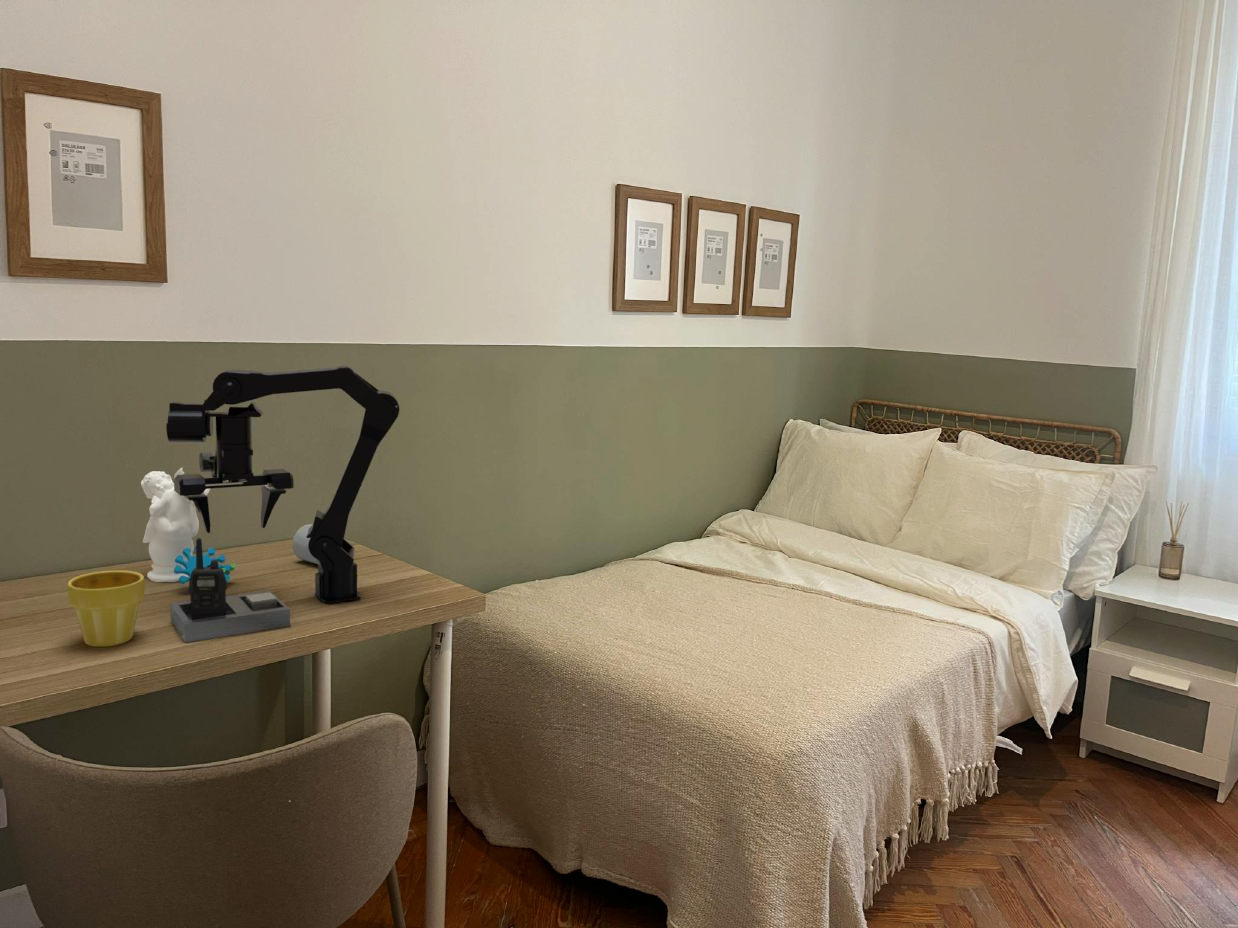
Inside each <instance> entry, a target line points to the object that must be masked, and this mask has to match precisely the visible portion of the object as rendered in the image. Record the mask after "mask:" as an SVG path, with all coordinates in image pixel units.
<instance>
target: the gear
mask: <svg viewBox="0 0 1238 928" xmlns="http://www.w3.org/2000/svg"><path fill="white" fill-rule="evenodd" d="M203 549H204V547H203V546H202V551H203ZM194 552H195V555H194V556H193V555H192V556H191V555H190V553H191V549H190V548H186V549H184V550H183V552H182V553H183V555H185V556H186V557H187V560H188V562H185V561H184V559H183V556H181V555H179V556H177V557H176V559H175V562H176V563H179V564H181V565H183V566H184V567H185V568H186V569H183V568H182V567H181V566H179V565H176V567H175V568H174V573H176V574H178V573H183V574H186V575H188V576H189V577H186V576H180V578H179V581H178V582H179V583H180V584H181V585H184V584H186V583H189V579H190V577H191V572H192V570H193V569H195V568H196V546H194ZM215 554H216V550H215V548H214V547H209V548H208V550H207V552H206V553H205V554H203V567H207V566H208V565H211V561H212V560H217V561H218V565H219V566H218V567H220V568H222V569H223V571H224V575H225V577H226V583H228V582H229V580H230V579H231V576H230V574H231V572H233V571H235V568H236V567H237V564H236V563H234V562H231V563H230V564H223V563H225V561H226V559H227V558H226V557H225V555H224V554H219V556H216V557H212V556H214V555H215ZM210 556H211V557H210ZM220 563H221V564H220Z"/></svg>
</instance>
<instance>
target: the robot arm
mask: <svg viewBox="0 0 1238 928" xmlns="http://www.w3.org/2000/svg"><path fill="white" fill-rule="evenodd" d="M333 389H334V390H335V389H337V390H338V389H340V390H342V391H343V392H345V394H347V395H348V396H349V397H350V398H351V399H353V400H354V401H355V402H356V403H357V404H358V405H360V406H361V407H362V408H364V412H363V417H362V421H361V422H362V423H361V426H360V427H361V428H360V431H359V436H358V438H357V440H356V443H355V445H354V447H353V450H352V452H351V455H350V457H349V460H348V462H347V464H346V465H345V469H344V472H343V473H342V476H341V478H340V481H339V483H338V485H337V488H336V490H335V493H334V495H333V497H332V500H331V502H330V504H329V506H328V507H327V509H326V510H325V511H324V512H322V511H320V510H318V509H317V510H316V513H315V515H314V520H313V523H312V524H313V525H312V526H311V527H310V528H309V530H308V533H307V538H310V540H309V544H308V549H309V551H310V553H311V555H312V556H313V557H314V558H316V559H318V560H319V561H320V564H317V572H316V573H315V574H314V579H315V580H314V581H315V582H314V583H315V584H314V589H315V590H314V591H315V592H314V595H315V596H316V597H317V598H318V599H319V600H321V601H322V602H323V603H324V604H334V603H340V602H347V601H355V600H360V599H361V597H362V596H361V595H360V594H359V593H358V564H357V563H356V562H354V559H355V547H354V546H353V545H351V544H350V542H348V541H347V540H346V539H345V534H346V530H347V525H348V520H349V515H350V513H351V510H352V509H353V506H354V503H355V501H356V499H357V496H358V494H359V491H360V489H361V487H362V485H363V481H364V480H365V477H366V475H367V473H368V470H369V467H370V466H371V463H372V461H373V458H374V456H375V454H376V451H377V449H378V447H379V446H380V443H381V442H382V440H383V439H384V438H385V437H386V435H387V434H388V433H389V431H390V430H391V428H392V426H394V423H395V421H396V420H397V419H398V417H399V414H400V404H399V401H398V399H397V398H396V396H395V394H393V393H391V392H390V391H387V390H379V389H378V388H377V387H375V386H374V385H372V384H371V383H370V382H368V381H367V380H366V379H365V378H363V377H362V376H361V375H359V374H358V373H357V372H356V371H355V370H354V369H353V368H352V367H351V366H348V365H339V366H335V367H325V368H324V367H323V368H312V369H302V370H301V369H300V370H299V369H298V370H288V371H275V372H268V371H259V370H251V369H249V370H248V369H238V368H237V369H236V368H235V369H234V368H233V369H232V368H231V369H228V370H226V371H223V372H221V373H219V374H218V375H217V376H216V377H215V378H214V380H213V383H212V392H211V393H210V395H208V397H207V398H205V399H204V400H203V401H204V402H203V403H197V402H196V403H194V402H193V403H190V402H188V403H186V402H185V403H184V402H180V401H172V402H170V403H169V404H168V405H169V406H168V407H169V408H168V409H169V410H168V413H167V422H166V423H165V425H166V427H165V428H166V430H165V431H166V436H167V440H168V442H170V443H206V441H207V438H208V437H213V435H214V418H215V443H216V445H215V454H214V455H213V453H212V452H200V453H199V456H198V457H199V458H198V459H199V470H200V472H201V473H205V472H206V473H207V472H210V473H211V477H204V476H202V475H201V474H199V473H188V474H187V473H184V475H177V476H176V477H175V479H174V478H173V483H174V491H176V492H177V493H178V494H179V495H180V496H185V497H186V498H187V499H188V500H192V501H193V502H194V504H195V508H196V510H197V512H198V514H199V517H200V519H201V522H202V524H203V527H204V530H205V532H206V533H207V534H210V533H211V517H210V510H209V509H210V506H209V498H208V495H207V496H206V495H205V494H204V491H205V490H206V489H210V490H211V489H225V488H226V489H227V488H238V487H239V488H240V487H254V486H255V487H257V486H261V487H260V489H261V509H260V527H261V528H262V529H265V528H266V526H267V523H268V521H269V519H270V516H271V515H272V512H273V510H274V508H275V505H276V504H277V502H278V500H279V499H280V497H281V495H284V494H287V490H289V489H294V482H295V481H294V476H293V474H292V473H291V472H290V471H288V470H286V469H284V468H275V469H273V468H271V469H263V471H262V474H256V475H254V472H253V455H254V449H253V445H252V444H253V442H252V418H261V417H262V416H263V415H264V411H262V410H261V409H260V408H259V407H257V405H256V403H254V402H250V401H253V400H257V399H260V398H263V397H267V396H271V395H278V394H290V393H291V394H292V393H300V392H301V393H302V392H312V391H313V392H315V391H324V390H325V391H327V390H333ZM246 402H250V404H249V405H248V406H232V405H238V404H242V403H246ZM224 405H229V407H228V411H216V410H217V409H219V408H221V407H223V406H224ZM230 405H231V406H230Z"/></svg>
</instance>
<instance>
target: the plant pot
mask: <svg viewBox="0 0 1238 928" xmlns="http://www.w3.org/2000/svg"><path fill="white" fill-rule="evenodd" d="M66 585H67V599H68V605H69V606H71V607H72V608H73V609H74V612H75V615H76V619H77V622H78V625H79V628H80V631H81V635H82V640H83V643H84V644H86V645H87V646H90V647H94V648H97V647H99V648H100V647H101V648H102V647H103V648H104V647H112V646H117V645H122V644H125V643H127V642H129V641H130V640H132V639H133V636H134V632H135V627H136V622H137V618H138V617H137V616H138V613H139V612H138V611H139V607H140V603H141V601H142V600H144V598H145V591H146V590H145V585H146V584H145V577H144V575H143V574H142V573H139V572H138V571H137V572H136V571H133V570H132V571H131V570H105V571H104V570H102V571H95V572H89V573H85V574H81V575H77V576H75V577H73V578H72V579H70V580H69V581H68V583H67V584H66Z"/></svg>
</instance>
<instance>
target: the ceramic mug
mask: <svg viewBox="0 0 1238 928" xmlns="http://www.w3.org/2000/svg"><path fill="white" fill-rule="evenodd" d="M312 525H313V523H308V524H307V523H306V524H305V525H302V526H301V527H300V528H298V530H297V531H296V532H295V535H294V536H293V538H292V551H293V553H294V555H295V556H296V557H297V558H298V559H300V560H302V561H305V562H308V563H311V564H315V565H318V564H320V561H319V560H318V559H316V558H314V557H313V556H312V555H311V553H310V551H309V549H308V544H309V540H310V538H307V533H308V530H309V528H310V527H311V526H312Z"/></svg>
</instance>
